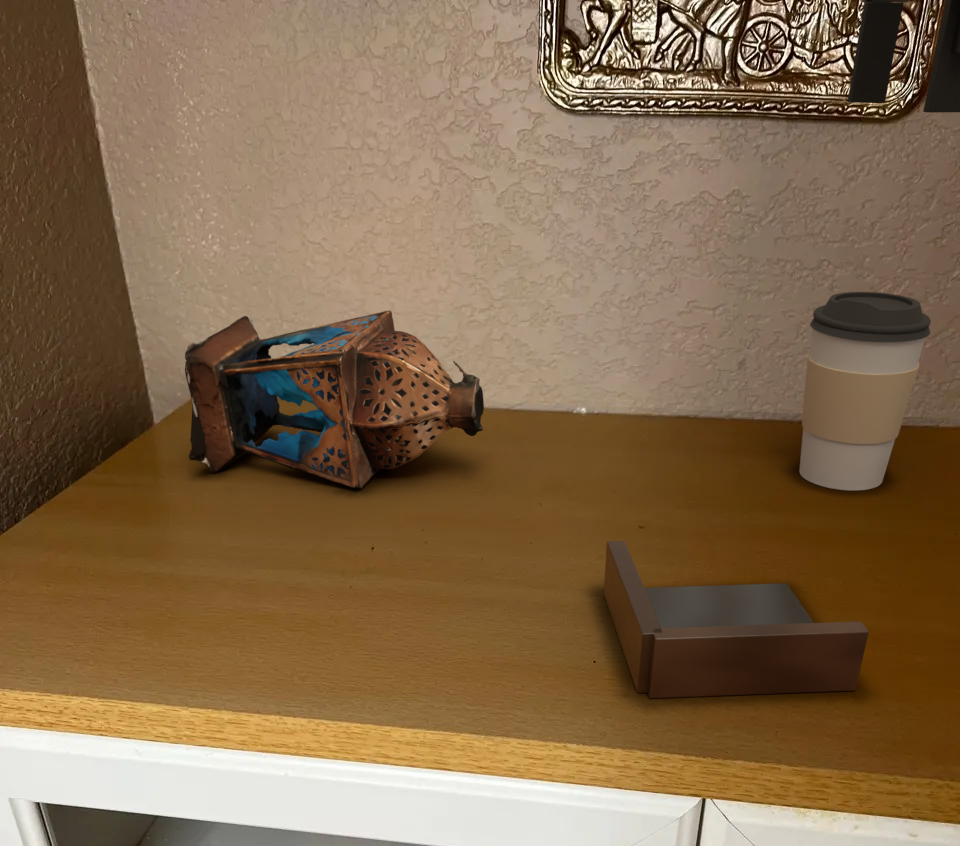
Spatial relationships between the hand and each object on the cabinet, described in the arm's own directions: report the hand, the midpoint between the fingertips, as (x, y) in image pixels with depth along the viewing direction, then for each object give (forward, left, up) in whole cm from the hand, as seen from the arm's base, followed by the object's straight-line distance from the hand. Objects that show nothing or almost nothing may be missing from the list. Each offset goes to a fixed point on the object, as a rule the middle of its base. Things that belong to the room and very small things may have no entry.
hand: (902, 107), depth 71 cm
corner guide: (+17, +26, -28) cm, 42 cm away
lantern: (+43, -5, -28) cm, 51 cm away
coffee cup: (0, +1, -28) cm, 28 cm away
